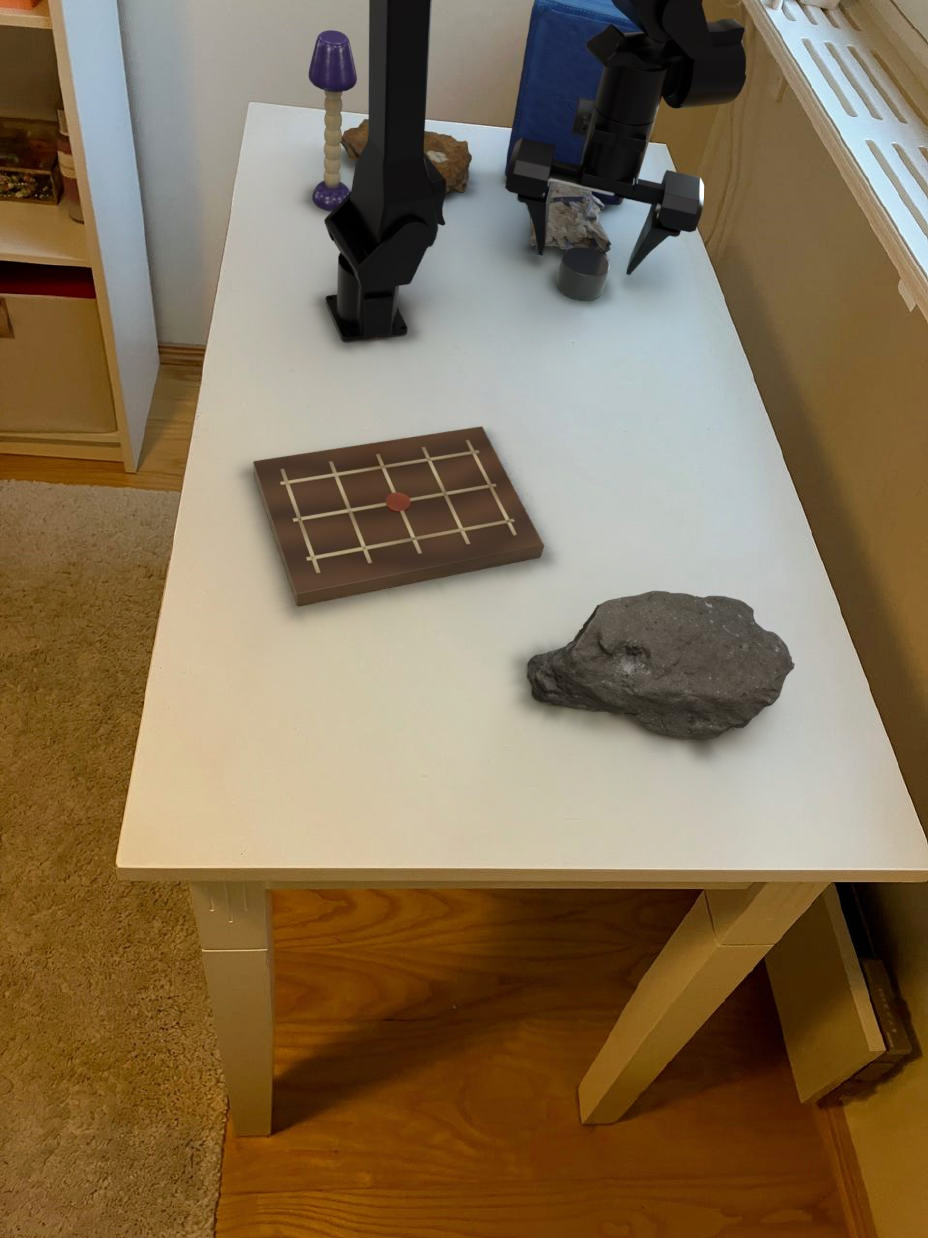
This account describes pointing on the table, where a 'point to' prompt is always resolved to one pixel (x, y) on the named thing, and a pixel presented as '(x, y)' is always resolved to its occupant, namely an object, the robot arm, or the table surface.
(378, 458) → the game board
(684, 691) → the stone
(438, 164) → the decorative rock
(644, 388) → the table surface
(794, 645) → the table surface
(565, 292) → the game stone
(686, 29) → the robot arm
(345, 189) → the toy lamp
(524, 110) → the book
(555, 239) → the mineral specimen
